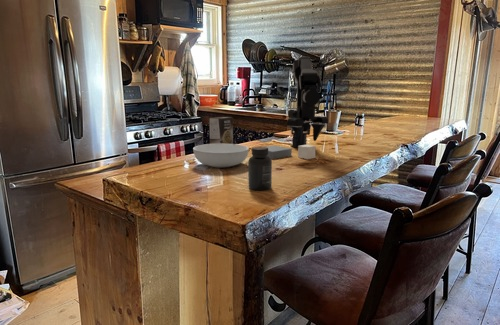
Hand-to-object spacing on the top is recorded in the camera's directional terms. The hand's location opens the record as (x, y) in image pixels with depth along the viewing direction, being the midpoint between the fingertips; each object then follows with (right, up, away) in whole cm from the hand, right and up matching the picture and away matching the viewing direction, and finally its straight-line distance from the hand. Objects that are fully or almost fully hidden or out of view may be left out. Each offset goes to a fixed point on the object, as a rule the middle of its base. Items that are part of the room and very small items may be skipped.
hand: (307, 141), depth 150 cm
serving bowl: (-35, -10, -12) cm, 38 cm away
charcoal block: (-14, -6, +6) cm, 16 cm away
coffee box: (-36, -5, +9) cm, 37 cm away
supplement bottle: (-21, -16, -43) cm, 50 cm away
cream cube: (0, -7, +1) cm, 7 cm away
